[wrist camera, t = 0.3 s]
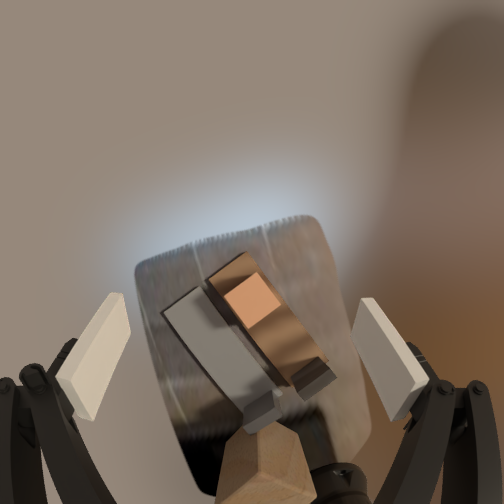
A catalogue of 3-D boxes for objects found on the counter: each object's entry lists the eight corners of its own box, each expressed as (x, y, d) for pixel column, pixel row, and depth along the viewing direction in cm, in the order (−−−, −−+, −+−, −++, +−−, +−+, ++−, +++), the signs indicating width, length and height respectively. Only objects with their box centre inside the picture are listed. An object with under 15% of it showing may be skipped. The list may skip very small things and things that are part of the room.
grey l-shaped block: (282, 392, 46) (288, 412, 37) (246, 415, 45) (245, 438, 36) (200, 286, 48) (188, 285, 39) (165, 312, 48) (147, 316, 39)
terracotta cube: (277, 302, 47) (281, 304, 41) (248, 323, 46) (248, 328, 40) (256, 273, 47) (256, 271, 41) (227, 295, 47) (223, 296, 41)
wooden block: (224, 442, 44) (212, 508, 25) (256, 408, 45) (258, 471, 25) (266, 465, 44) (271, 531, 24) (298, 433, 45) (319, 497, 25)
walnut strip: (327, 359, 46) (342, 373, 37) (291, 385, 46) (299, 405, 37) (246, 251, 49) (245, 244, 40) (209, 279, 48) (199, 277, 39)
